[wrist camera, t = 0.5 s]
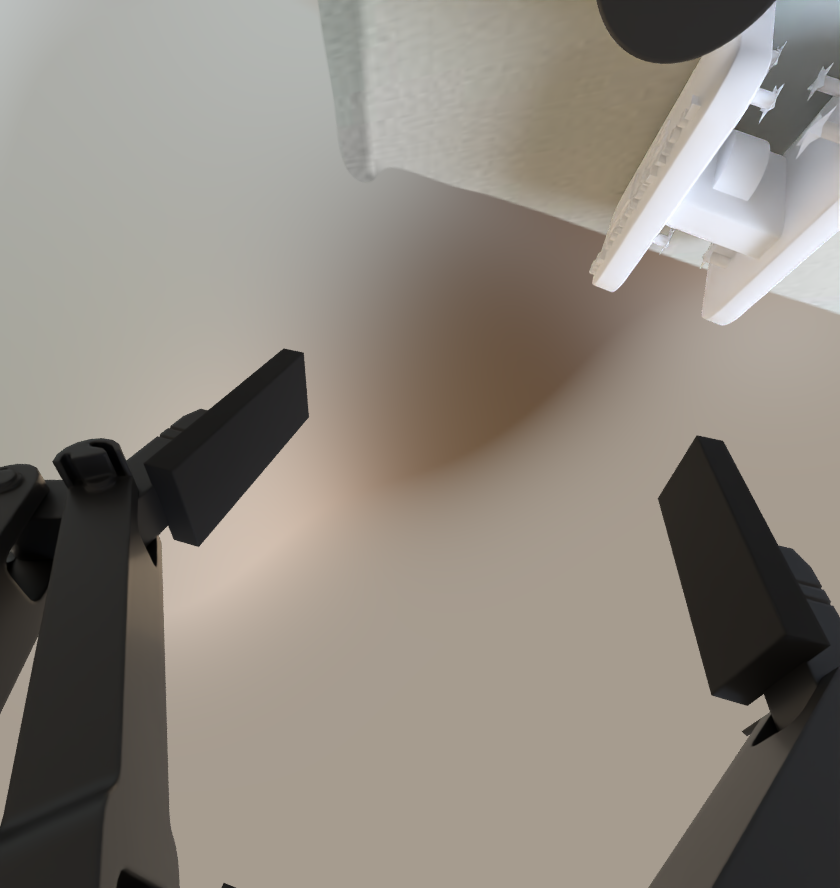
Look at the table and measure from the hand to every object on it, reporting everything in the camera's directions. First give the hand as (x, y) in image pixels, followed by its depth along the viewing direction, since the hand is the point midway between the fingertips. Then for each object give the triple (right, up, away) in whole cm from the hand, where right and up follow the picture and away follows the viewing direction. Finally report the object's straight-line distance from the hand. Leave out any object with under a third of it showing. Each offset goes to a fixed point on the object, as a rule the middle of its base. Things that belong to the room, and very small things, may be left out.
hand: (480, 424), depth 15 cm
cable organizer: (+20, +22, +16) cm, 34 cm away
